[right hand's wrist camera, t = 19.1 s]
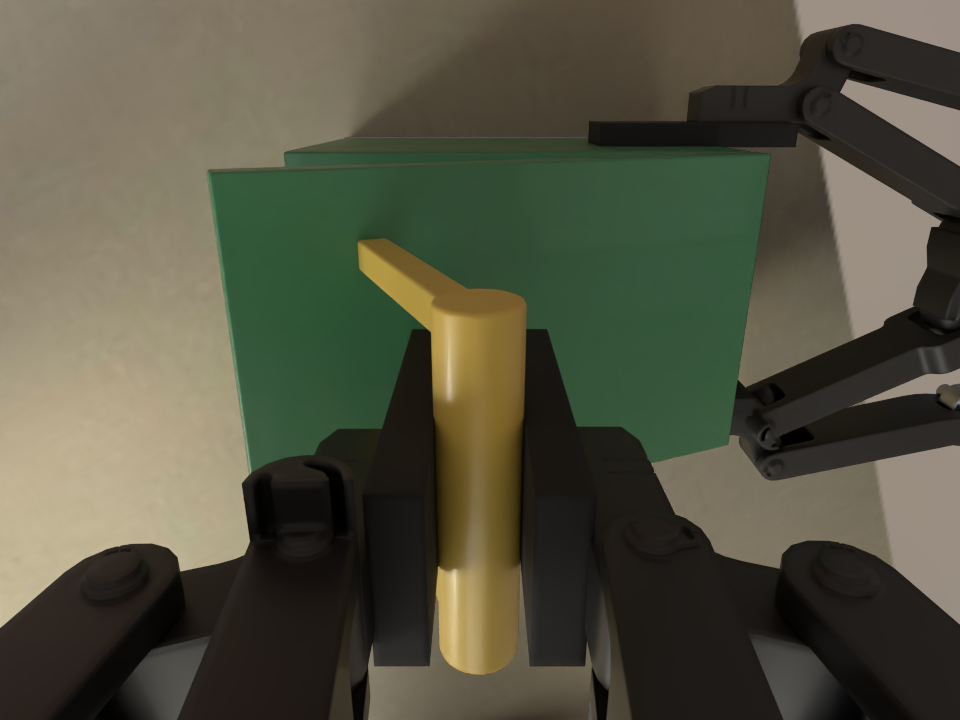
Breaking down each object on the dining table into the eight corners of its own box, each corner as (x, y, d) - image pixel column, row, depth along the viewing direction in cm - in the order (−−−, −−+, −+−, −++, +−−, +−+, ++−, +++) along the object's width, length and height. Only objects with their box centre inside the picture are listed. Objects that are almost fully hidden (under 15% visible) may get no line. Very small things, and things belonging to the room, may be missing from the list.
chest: (361, 335, 32) (310, 433, 23) (348, 136, 29) (282, 151, 19) (645, 336, 32) (715, 433, 23) (664, 136, 29) (754, 151, 19)
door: (257, 538, 17) (309, 805, 11) (206, 169, 14) (233, 224, 7) (710, 434, 23) (930, 568, 16) (749, 151, 19) (1045, 174, 13)
